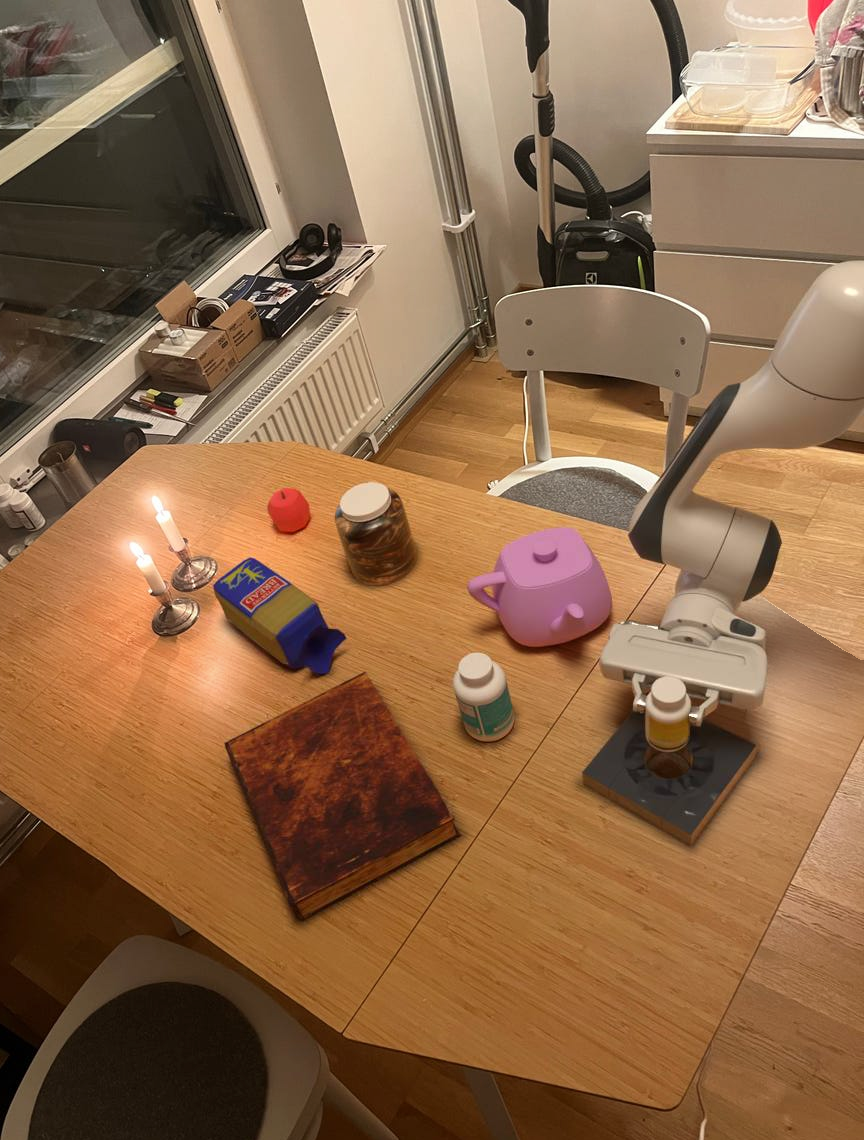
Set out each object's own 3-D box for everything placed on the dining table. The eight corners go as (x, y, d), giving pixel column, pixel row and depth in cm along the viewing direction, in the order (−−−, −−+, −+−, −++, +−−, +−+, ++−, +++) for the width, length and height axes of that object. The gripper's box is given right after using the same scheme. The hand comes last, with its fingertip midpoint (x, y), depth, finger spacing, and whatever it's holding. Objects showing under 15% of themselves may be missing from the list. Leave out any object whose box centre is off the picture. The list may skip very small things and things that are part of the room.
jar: (365, 537, 167) (344, 473, 156) (425, 541, 162) (408, 476, 151) (343, 584, 160) (319, 520, 149) (404, 589, 156) (385, 525, 145)
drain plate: (755, 757, 121) (756, 744, 118) (690, 846, 115) (691, 834, 112) (648, 704, 130) (648, 691, 127) (583, 784, 124) (581, 772, 121)
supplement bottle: (696, 746, 114) (699, 700, 107) (654, 758, 115) (654, 712, 107) (680, 713, 118) (681, 666, 111) (639, 724, 118) (638, 678, 111)
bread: (268, 588, 164) (249, 547, 156) (355, 652, 149) (339, 610, 141) (224, 622, 160) (202, 582, 153) (309, 692, 146) (289, 650, 138)
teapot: (464, 601, 151) (449, 534, 140) (587, 563, 150) (581, 493, 139) (504, 705, 135) (490, 639, 124) (641, 663, 135) (639, 593, 124)
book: (234, 761, 140) (223, 743, 136) (374, 690, 143) (366, 670, 139) (301, 922, 120) (289, 905, 116) (461, 836, 123) (455, 817, 119)
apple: (314, 506, 176) (302, 473, 170) (314, 533, 171) (302, 501, 165) (275, 514, 177) (261, 482, 171) (273, 542, 172) (260, 510, 166)
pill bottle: (516, 702, 135) (505, 644, 125) (513, 744, 130) (500, 686, 121) (467, 702, 137) (451, 644, 127) (461, 743, 132) (445, 687, 123)
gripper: (615, 602, 121) (582, 682, 114) (779, 632, 112) (755, 720, 105) (616, 633, 126) (585, 711, 119) (774, 664, 117) (751, 751, 110)
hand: (666, 716), depth 112 cm, fingers closed on supplement bottle, 5 cm apart
